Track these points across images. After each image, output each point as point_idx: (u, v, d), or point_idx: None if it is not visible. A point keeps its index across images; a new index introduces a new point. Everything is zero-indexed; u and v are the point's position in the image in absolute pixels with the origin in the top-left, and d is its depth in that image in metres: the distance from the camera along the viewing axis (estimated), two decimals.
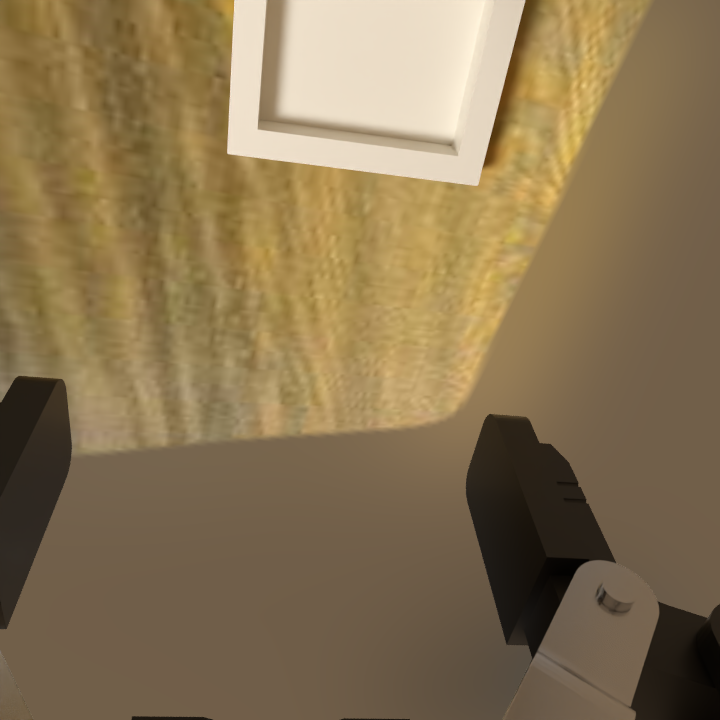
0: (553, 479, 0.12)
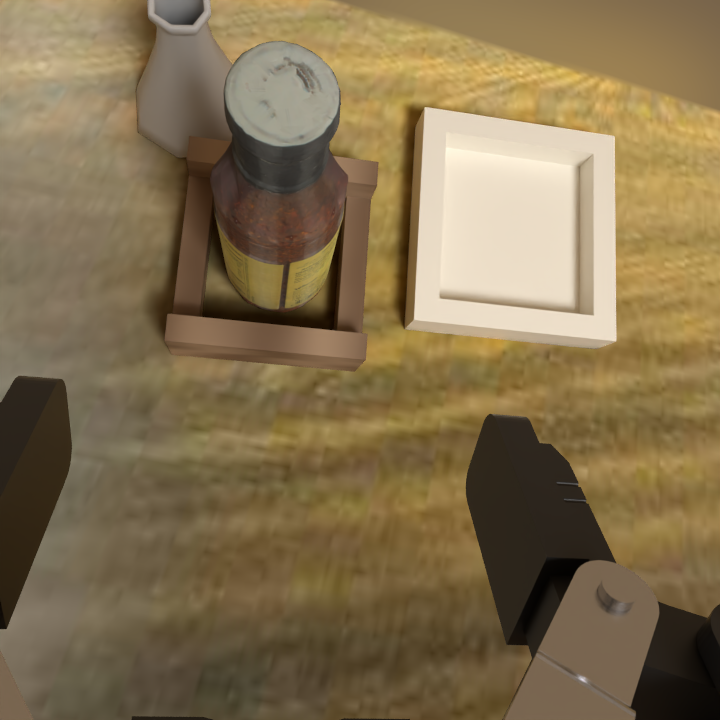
0: (553, 479, 0.12)
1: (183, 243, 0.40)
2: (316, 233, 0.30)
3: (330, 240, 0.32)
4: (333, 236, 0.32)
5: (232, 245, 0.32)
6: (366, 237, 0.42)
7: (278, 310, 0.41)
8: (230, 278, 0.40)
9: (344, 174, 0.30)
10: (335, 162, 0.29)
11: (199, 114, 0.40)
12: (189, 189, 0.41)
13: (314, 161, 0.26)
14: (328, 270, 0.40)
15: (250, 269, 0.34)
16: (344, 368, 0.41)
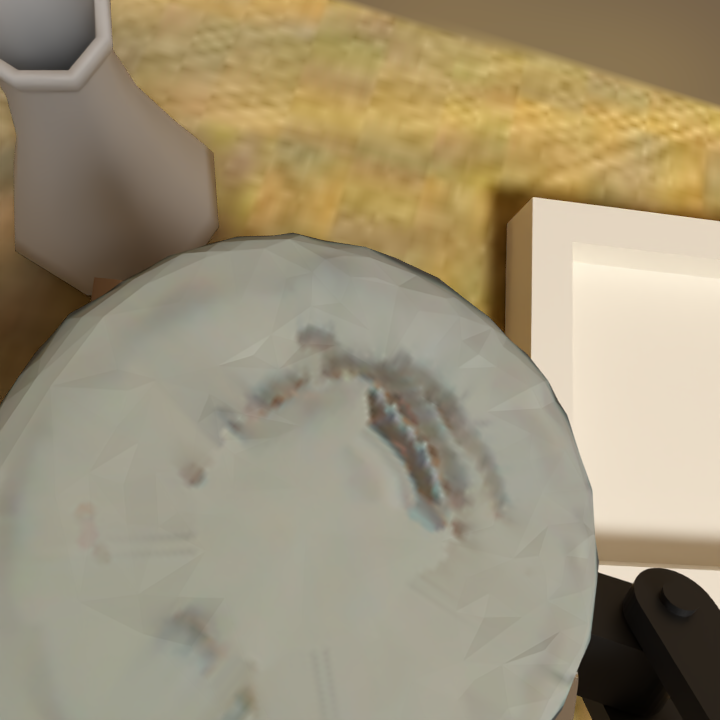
0: None
1: None
2: None
3: None
4: None
5: None
6: None
7: None
8: None
9: None
10: None
11: (118, 229, 0.21)
12: None
13: None
14: None
15: None
16: None
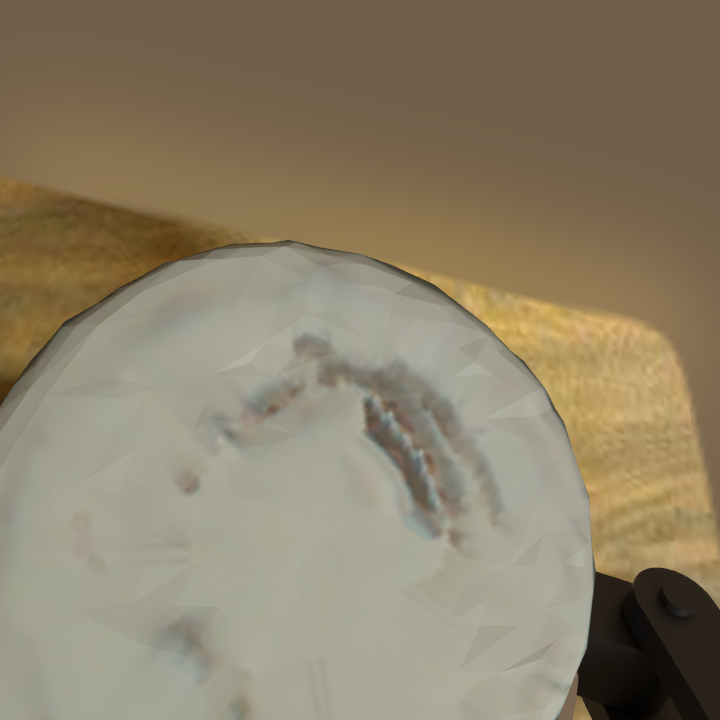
0: None
1: None
2: None
3: None
4: None
5: None
6: None
7: None
8: None
9: None
10: None
11: None
12: None
13: None
14: None
15: None
16: None
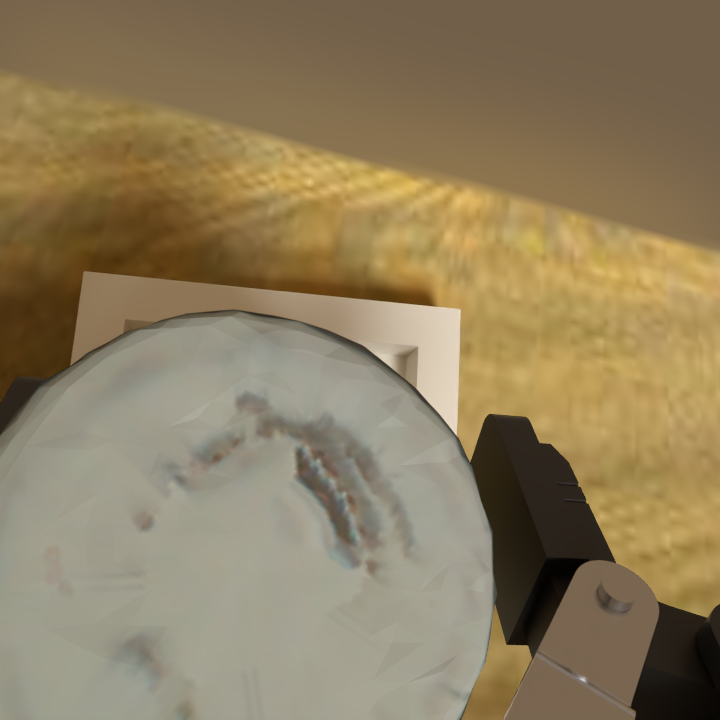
0: (553, 479, 0.12)
1: None
2: None
3: None
4: None
5: None
6: None
7: None
8: None
9: None
10: None
11: None
12: None
13: None
14: None
15: None
16: None
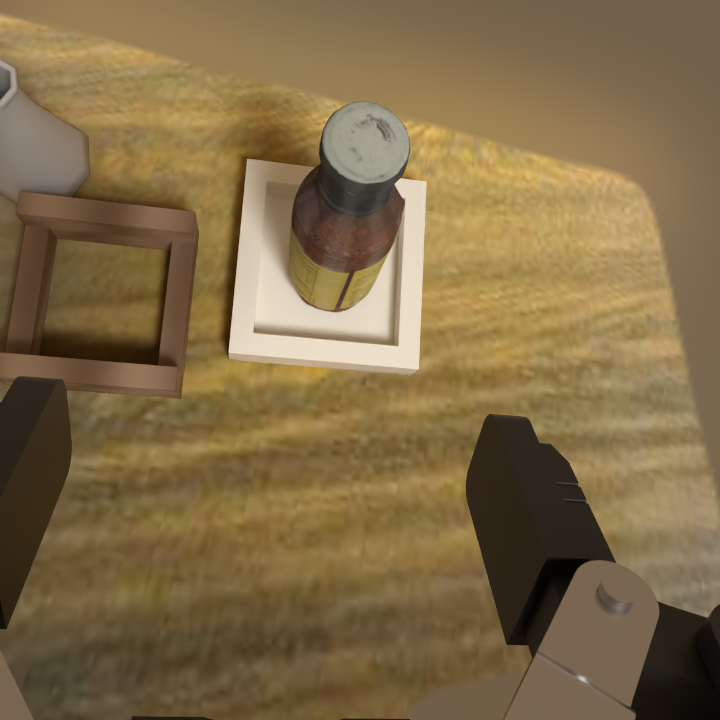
0: (553, 479, 0.12)
1: (17, 286, 0.45)
2: (379, 247, 0.37)
3: (387, 252, 0.39)
4: (389, 249, 0.39)
5: (307, 257, 0.39)
6: (189, 278, 0.47)
7: (333, 310, 0.48)
8: (294, 283, 0.47)
9: (402, 199, 0.37)
10: (397, 190, 0.36)
11: (32, 171, 0.45)
12: (25, 238, 0.45)
13: (386, 192, 0.33)
14: None
15: (319, 276, 0.41)
16: (168, 396, 0.46)
